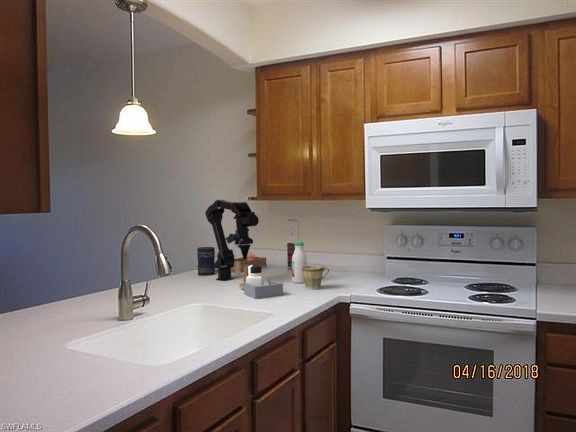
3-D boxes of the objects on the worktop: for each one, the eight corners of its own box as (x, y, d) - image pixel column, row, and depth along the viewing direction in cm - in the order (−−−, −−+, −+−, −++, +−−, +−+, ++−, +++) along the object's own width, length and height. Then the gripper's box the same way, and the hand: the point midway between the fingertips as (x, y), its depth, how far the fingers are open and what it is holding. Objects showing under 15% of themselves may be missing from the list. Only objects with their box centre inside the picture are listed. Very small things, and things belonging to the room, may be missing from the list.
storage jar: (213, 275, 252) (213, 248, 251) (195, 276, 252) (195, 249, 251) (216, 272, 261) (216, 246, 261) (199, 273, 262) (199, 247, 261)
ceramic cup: (305, 291, 207) (304, 269, 207) (300, 286, 217) (299, 265, 216) (332, 289, 210) (332, 267, 209) (326, 285, 220) (326, 264, 219)
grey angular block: (244, 294, 202) (243, 283, 202) (270, 290, 209) (270, 279, 209) (255, 298, 193) (255, 287, 192) (282, 295, 199) (282, 283, 199)
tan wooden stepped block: (238, 287, 214) (238, 267, 214) (253, 285, 218) (253, 266, 218) (243, 289, 210) (242, 269, 209) (258, 287, 214) (258, 267, 213)
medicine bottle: (264, 289, 211) (263, 264, 211) (261, 293, 204) (261, 266, 203) (249, 289, 212) (248, 264, 211) (246, 293, 205) (245, 266, 204)
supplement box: (303, 270, 264) (303, 243, 264) (298, 271, 261) (297, 243, 260) (292, 269, 270) (292, 242, 270) (287, 270, 267) (286, 243, 266)
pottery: (241, 272, 262) (241, 255, 262) (229, 271, 267) (229, 254, 267) (261, 268, 277) (260, 252, 276) (248, 267, 282) (248, 251, 282)
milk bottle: (309, 281, 231) (309, 241, 230) (303, 283, 224) (303, 243, 223) (295, 280, 234) (295, 241, 234) (289, 282, 227) (288, 242, 227)
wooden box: (224, 271, 267) (223, 260, 267) (249, 265, 286) (249, 256, 286) (242, 273, 259) (242, 262, 259) (267, 267, 278) (267, 257, 278)
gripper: (223, 229, 232) (225, 260, 232) (228, 228, 214) (231, 261, 214) (245, 227, 235) (247, 257, 235) (252, 226, 217) (254, 259, 217)
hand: (244, 259), depth 225 cm, fingers closed
